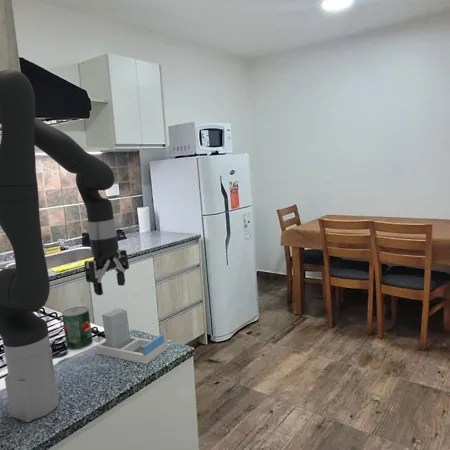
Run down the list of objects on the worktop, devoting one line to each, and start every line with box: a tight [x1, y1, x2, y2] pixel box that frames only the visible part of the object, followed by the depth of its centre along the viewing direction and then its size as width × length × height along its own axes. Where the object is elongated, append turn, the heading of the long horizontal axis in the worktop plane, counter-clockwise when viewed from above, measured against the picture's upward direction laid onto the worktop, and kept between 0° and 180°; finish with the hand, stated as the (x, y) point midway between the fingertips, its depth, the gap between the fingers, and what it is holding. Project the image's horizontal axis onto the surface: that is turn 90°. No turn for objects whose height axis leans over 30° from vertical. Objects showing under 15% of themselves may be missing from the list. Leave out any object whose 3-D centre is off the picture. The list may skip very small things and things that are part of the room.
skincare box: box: [101, 307, 131, 349], centre depth 118 cm, size 6×4×12 cm
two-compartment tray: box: [95, 334, 166, 365], centre depth 117 cm, size 9×19×5 cm, turn 62°
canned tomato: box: [61, 305, 94, 351], centre depth 125 cm, size 8×8×11 cm
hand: (110, 289), depth 116 cm, fingers open, 8 cm apart
